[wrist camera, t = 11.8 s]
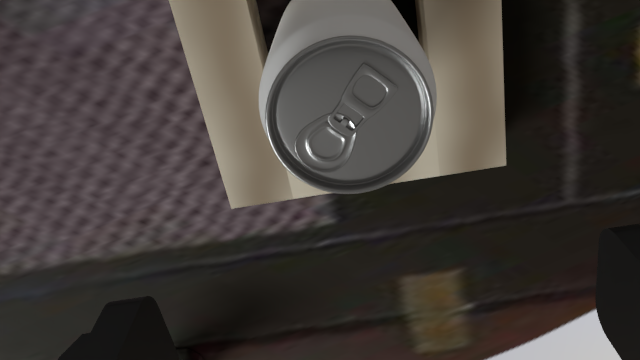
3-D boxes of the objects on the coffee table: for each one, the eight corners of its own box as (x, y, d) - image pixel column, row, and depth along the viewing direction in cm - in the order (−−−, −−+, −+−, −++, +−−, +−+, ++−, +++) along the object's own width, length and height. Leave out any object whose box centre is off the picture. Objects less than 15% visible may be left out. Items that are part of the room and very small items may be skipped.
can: (255, 51, 29) (215, 140, 18) (326, -56, 27) (328, -23, 16) (351, 118, 31) (365, 235, 20) (426, 24, 28) (488, 100, 18)
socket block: (239, 183, 33) (231, 208, 30) (160, -90, 26) (142, -89, 23) (490, 142, 31) (506, 165, 29) (477, -157, 25) (496, -164, 22)
